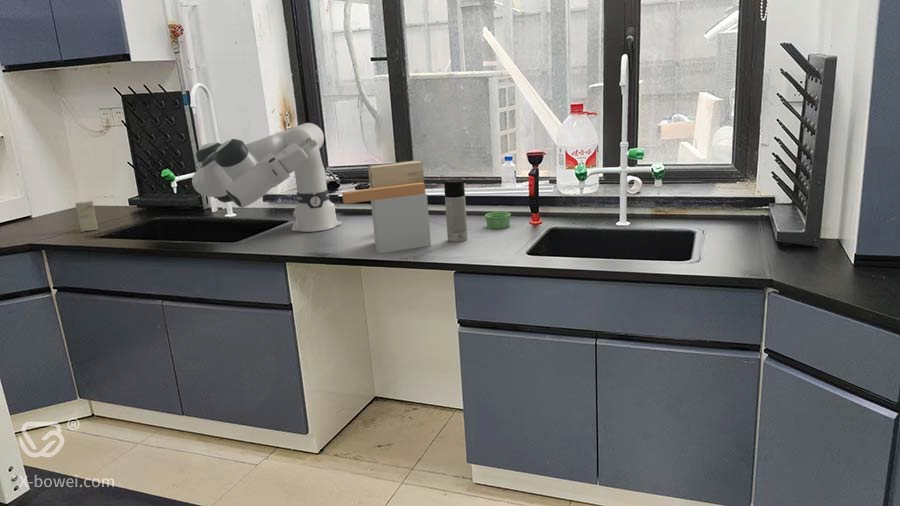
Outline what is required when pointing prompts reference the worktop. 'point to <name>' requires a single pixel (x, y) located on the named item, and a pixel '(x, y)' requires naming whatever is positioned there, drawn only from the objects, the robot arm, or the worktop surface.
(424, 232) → the base
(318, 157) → the robot arm
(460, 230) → the spray can
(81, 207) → the skincare box
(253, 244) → the worktop surface
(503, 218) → the ramekin
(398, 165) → the beige rectangular block
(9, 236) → the worktop surface
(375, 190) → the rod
